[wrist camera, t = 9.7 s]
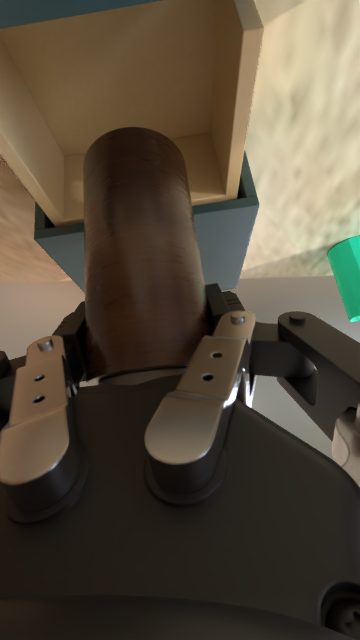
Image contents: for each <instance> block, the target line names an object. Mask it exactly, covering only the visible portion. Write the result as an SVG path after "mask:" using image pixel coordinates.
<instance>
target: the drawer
mask: <svg viewBox="0 0 360 640" xmlns="http://www.w3.org/2000/svg"><path fill="white" fill-rule="evenodd" d="M263 31H264V27H263V24H262V22H261V19H260V16H259V13H258V11H257V8H256V5H255V2H254V0H0V155H1V156H2V158H3V159H4V160H5V162H6V163H7V164H8V166H9V167H10V168H11V169H12V171H13V172H14V173H15V175H16V176H17V177H18V179H19V180H20V181H21V182H22V184H23V185H24V186H25V188H26V189H27V190H28V192H29V193H30V194H31V195H32V197H33V198H34V199H35V201H36V202H37V203H38V205H39V206H40V207H41V208H42V210H43V211H44V212H45V214H46V215H47V216H48V218H49V219H50V220H51V221H52V223H53V224H54V225H55V227H61V226H67V225H74V224H80V223H84V197H83V162H84V158H85V155H86V153H87V151H88V149H89V148H90V146H91V145H92V144H93V143H94V142H95V141H96V140H97V139H98V138H99V137H101V136H102V135H104V134H105V133H107V132H109V131H112V130H115V129H119V128H123V127H142V128H147V129H151V130H154V131H157V132H159V133H161V134H163V135H164V136H166V137H168V138H169V139H170V140H171V141H173V142H174V143H175V145H176V146H177V147H178V148H179V150H180V151H181V153H182V155H183V157H184V160H185V164H186V170H187V176H188V182H189V189H190V195H191V201H192V206H196V205H203V204H209V203H216V202H222V201H229V200H235V199H237V193H238V186H239V180H240V174H241V168H242V162H243V155H244V149H245V143H246V137H247V130H248V124H249V118H250V112H251V106H252V99H253V93H254V87H255V81H256V74H257V68H258V62H259V56H260V49H261V43H262V37H263Z"/></svg>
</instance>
